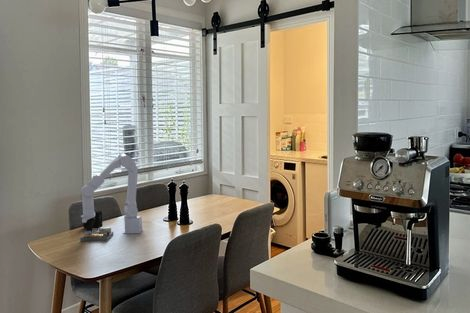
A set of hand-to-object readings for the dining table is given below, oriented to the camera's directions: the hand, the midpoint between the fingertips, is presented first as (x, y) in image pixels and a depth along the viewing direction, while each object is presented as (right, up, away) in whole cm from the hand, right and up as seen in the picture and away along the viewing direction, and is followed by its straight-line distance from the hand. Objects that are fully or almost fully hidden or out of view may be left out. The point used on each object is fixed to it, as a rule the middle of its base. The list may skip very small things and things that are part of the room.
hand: (89, 232), depth 220 cm
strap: (+5, -1, -5) cm, 7 cm away
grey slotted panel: (+4, -3, -1) cm, 6 cm away
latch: (0, -1, -3) cm, 4 cm away
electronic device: (-5, -1, +19) cm, 20 cm away
